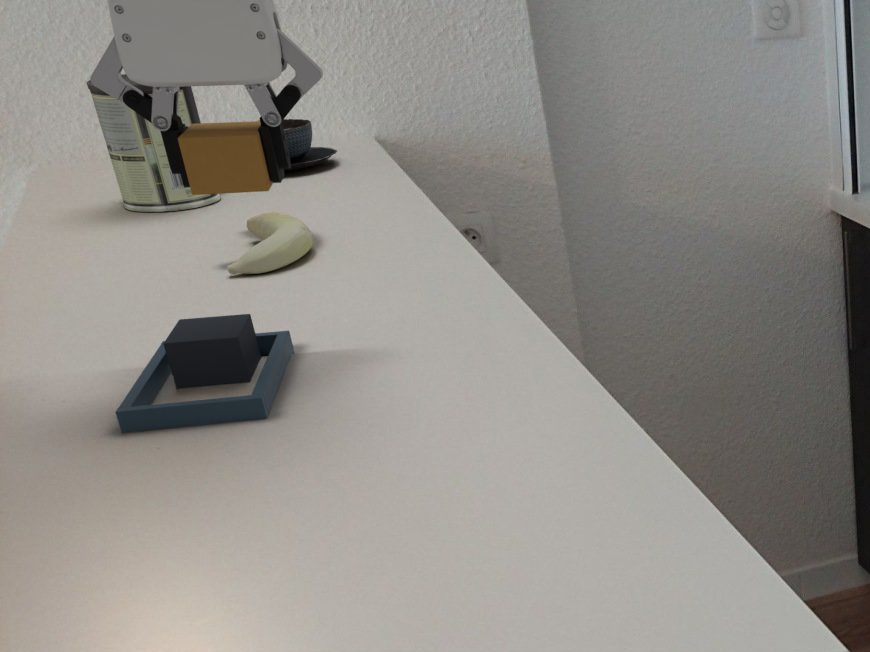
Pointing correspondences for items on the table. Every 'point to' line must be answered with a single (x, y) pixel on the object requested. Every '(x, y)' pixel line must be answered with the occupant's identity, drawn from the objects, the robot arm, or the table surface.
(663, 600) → the table surface
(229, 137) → the orange block
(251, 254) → the fruit
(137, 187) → the coffee can
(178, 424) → the frame
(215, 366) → the dark gray block
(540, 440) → the table surface
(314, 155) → the soup bowl
